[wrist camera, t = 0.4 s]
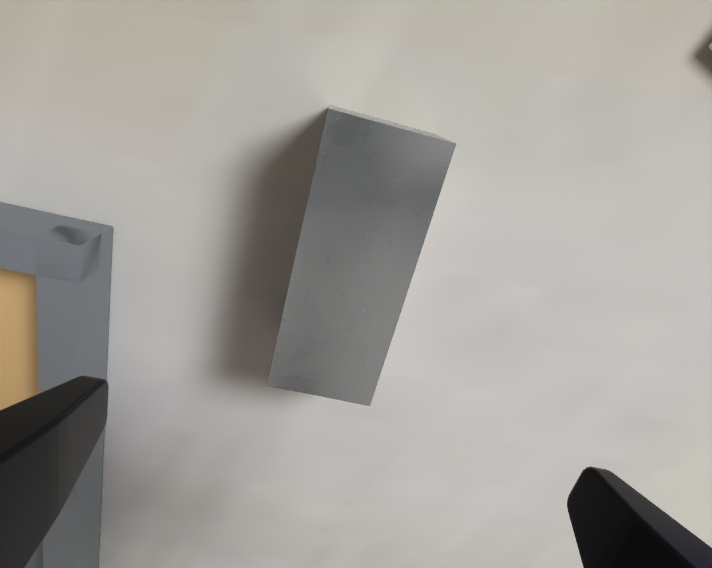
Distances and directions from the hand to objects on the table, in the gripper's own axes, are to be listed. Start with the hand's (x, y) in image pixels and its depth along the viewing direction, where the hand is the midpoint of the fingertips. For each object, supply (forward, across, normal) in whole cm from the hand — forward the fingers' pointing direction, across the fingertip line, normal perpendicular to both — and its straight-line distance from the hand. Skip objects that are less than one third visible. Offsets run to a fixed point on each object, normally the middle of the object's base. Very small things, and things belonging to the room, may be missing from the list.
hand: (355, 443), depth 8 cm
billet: (+12, 0, 0) cm, 12 cm away
